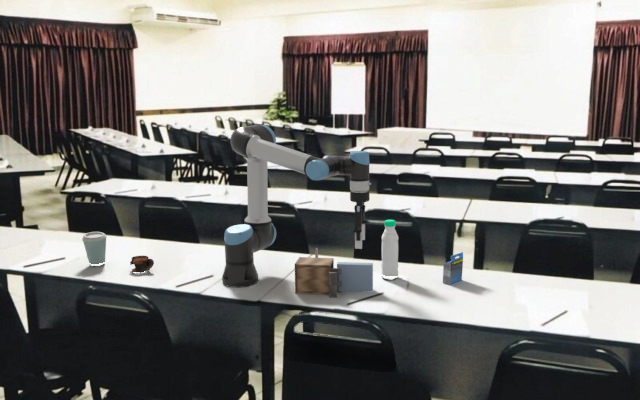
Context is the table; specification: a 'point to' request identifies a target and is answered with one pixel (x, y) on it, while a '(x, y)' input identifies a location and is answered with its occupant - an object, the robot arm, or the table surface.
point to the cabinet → (316, 276)
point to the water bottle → (390, 249)
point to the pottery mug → (141, 263)
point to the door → (355, 276)
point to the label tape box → (453, 269)
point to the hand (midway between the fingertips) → (360, 244)
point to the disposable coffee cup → (95, 246)
